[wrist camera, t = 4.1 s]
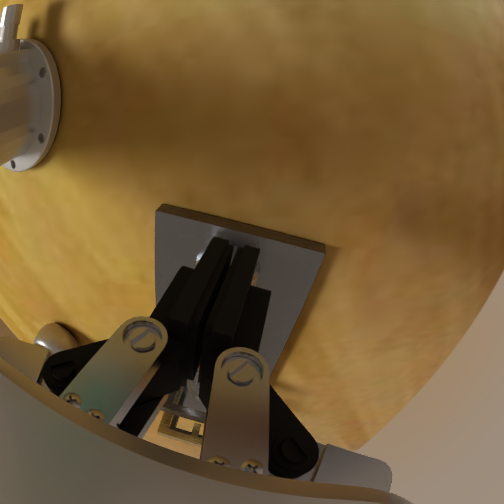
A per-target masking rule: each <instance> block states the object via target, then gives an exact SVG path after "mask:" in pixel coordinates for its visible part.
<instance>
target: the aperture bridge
mask: <svg viewBox="0 0 504 504" xmlns="http://www.w3.org/2000/svg"><path fill="white" fill-rule="evenodd" d="M183 388H184V387H183V386H180V389H179V392H178V395H177V398H176V400H175V404H178V402H179V399H180V396H181V394H182V391H183ZM173 417H174V414H171V413H168V412H165V411H164V414H163V417H162V420H161V422H160V425H159V428H158V431H157V433H158V434H159V435H162V436H165V437H168V438H171V439H174V440H178V441H181V442H184V443H187V444H191V445H194V446H198V447H201V445H202V438H198V434H199V430H200V427H201V424H197V423H195V424H194V427H193V430H192V434H191V435H188V434H184V433H181V432H178V431H175V430H172V429H169V428H170V425H171V422H172V419H173Z"/></svg>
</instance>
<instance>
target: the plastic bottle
mask: <svg viewBox="0 0 504 504" xmlns="http://www.w3.org/2000/svg"><path fill="white" fill-rule="evenodd" d="M34 345H36V346H39V347H42V348H46V349H49V350H50V352H51V353H54V354H55V353H57V352H60V351H64V350H68V349H72V348H76V347H78V343H77V341H76V339H75V338H74V337H73V336H72V335H71V334H70V333H69V332H68V331H67V330H66V329H65V328H63V327H62V326H60V325H58V324H56V323H50V324H46V325H45V326H44V327H43V328H42V329H41V330H40V331H39V332H38V334H37V336H36V338H35V341H34Z"/></svg>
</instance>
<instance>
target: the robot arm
mask: <svg viewBox="0 0 504 504" xmlns="http://www.w3.org/2000/svg"><path fill="white" fill-rule="evenodd" d="M22 9H23V4H15V5H10V6H7V7H4V8H3V9H2V14H1V19H0V166H1V165H2V166H4V167H5V168H6V169H9V170H11V171H14V172H22V171H26V170H28V169H30V168H32V167H34V166H36V165H37V164H38V163H39V162H41V161H42V160H43V158H44V157H45V156H46V154H47V153H48V151H49V149H50V147H51V146H52V144H53V141H54V138H55V135H56V132H57V128H58V123H59V118H60V107H61V88H60V81H59V74H58V71H57V67H56V63H55V61H54V59H53V57H52V55H51V53H50V51H49V50H48V49H47V48H46V46H45V45H44V44H42V43H41V42H39V41H38V40H34V39H31V38H30V39H17V32H18V26H19V24H20V19H21V14H22ZM233 249H234V246H233V245H229V240H226V239H223V238H219V237H215V236H214V237H213V238H212V240H211V241H210V243H209V245H208V246H207V248H206V250H205V252H204V253H203V255H202V257H201V258H200V260H199V262H198V264H197V265H196V267H195V269H193V268H190V267H186V266H181V268H180V269H179V270H178V272H177V274H176V275H175V277H174V278H173V280H172V282H171V283H170V285H169V286H168V288H167V290H166V291H165V293H164V294H163V296H162V298H161V299H160V301H159V303H158V304H157V306H156V307H155V309H154V311H153V312H152V314H151V316H150V317H144V316H140V317H133V318H131V319H129V320H127V321H125V322H124V323H123V324H122V325H121V326H120V327H119V328H118V329H117V330H116V331H115V332H114V334H113V335H112V336H111V337H110V338H109V339H106V340H103V341H99V342H95V343H91V344H87V345H84V346H80V347H76V348H72V349H68V350H64V351H60V352H57V353H55V354H54V353H51V352H50V350H49V349H46V348H42V347H39V346H36V345H33V344H30V343H27V342H24V341H21V340H18V339H14V338H12V337H9V336H1V337H0V504H413V503H411V502H410V501H408V500H406V499H405V498H402V497H400V496H398V495H396V494H393V493H389V491H390V487H391V483H392V472H391V469H390V467H389V466H388V465H387V464H386V463H385V462H383V461H381V460H378V459H375V458H371V457H368V456H364V455H361V454H358V453H354V452H351V451H348V450H345V449H342V448H339V447H336V446H333V445H330V444H327V445H323V444H320V443H317V442H316V441H315V439H314V438H313V437H312V435H311V434H310V433H309V432H308V431H307V429H306V428H305V427H304V426H303V425H302V424H301V422H300V421H299V420H298V419H297V418H296V416H295V415H294V414H293V413H292V411H291V410H290V409H289V408H288V407H287V405H286V404H285V403H284V402H283V400H282V399H281V398H280V397H279V395H278V394H277V393H276V392H275V390H274V389H273V388H272V387H271V385H270V372H269V366H268V364H267V362H266V360H265V359H264V358H263V357H262V356H261V355H260V354H259V353H258V352H259V347H260V343H261V338H262V334H263V329H264V325H265V320H266V316H267V311H268V306H269V302H270V297H271V291H270V290H266V289H263V288H259V287H256V286H252V285H251V283H252V279H253V275H254V272H255V268H256V264H257V260H258V257H259V253H260V249H259V248H255V247H252V246H248V245H245V247H244V249H243V248H240V247H238V249H237V251H236V253H235V256H234V258H233V260H232V263H231V259H232V254H233ZM230 264H231V265H230ZM199 365H200V366H199ZM198 368H199V375H198V383H200V386H199V395H198V397H199V398H200V400H201V402H202V403H203V405H204V406H205V408H206V416H205V423H204V430H203V438H202V445H201V453H200V459H197V458H194V457H190V456H187V455H184V454H181V453H178V452H175V451H172V450H169V449H167V448H164V447H161V446H159V445H156V444H153V443H151V442H148V441H146V440H143V439H142V438H143V436H144V435H145V433H146V432H147V430H148V429H149V427H150V425H151V424H152V422H153V421H154V419H155V418H156V416H157V414H158V413H159V411H160V410H161V408H162V407H163V405H164V404H165V402H166V400H167V399H168V397H169V394H170V393H172V392H175V391H178V390H179V389H180V386H183V387H185V385H186V383H187V380H188V379H189V380H192V381H193V380H194V378H195V375H196V373H197V370H198Z"/></svg>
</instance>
